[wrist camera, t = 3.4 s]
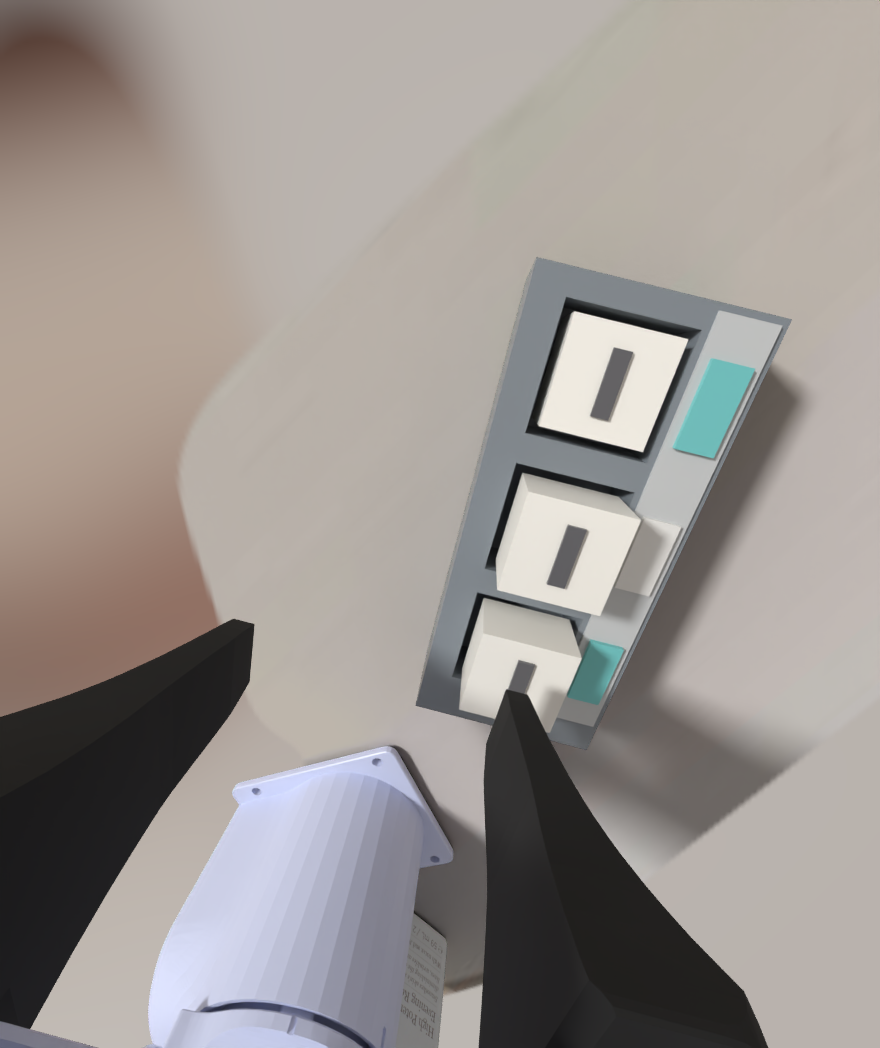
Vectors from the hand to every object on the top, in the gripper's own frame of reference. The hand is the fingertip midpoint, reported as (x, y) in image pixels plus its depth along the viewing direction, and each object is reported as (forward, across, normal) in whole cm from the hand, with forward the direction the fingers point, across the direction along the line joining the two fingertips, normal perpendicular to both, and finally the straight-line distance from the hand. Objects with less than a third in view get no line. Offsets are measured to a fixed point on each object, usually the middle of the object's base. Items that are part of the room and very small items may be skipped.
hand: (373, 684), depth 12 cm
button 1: (+4, -4, 0) cm, 6 cm away
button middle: (+4, -4, -5) cm, 7 cm away
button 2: (+5, -4, -9) cm, 11 cm away
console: (+6, -5, -4) cm, 9 cm away
